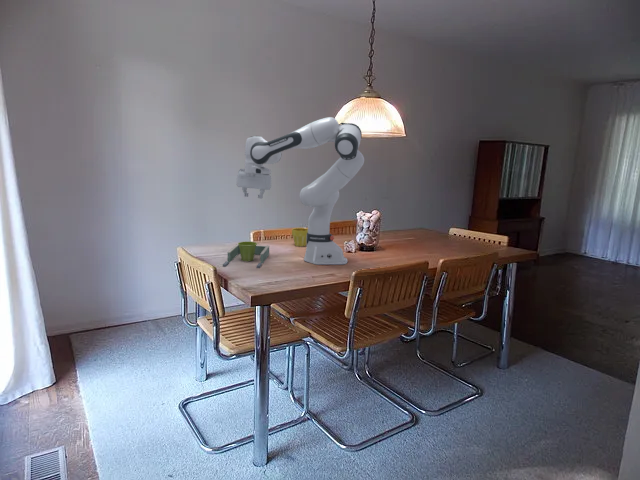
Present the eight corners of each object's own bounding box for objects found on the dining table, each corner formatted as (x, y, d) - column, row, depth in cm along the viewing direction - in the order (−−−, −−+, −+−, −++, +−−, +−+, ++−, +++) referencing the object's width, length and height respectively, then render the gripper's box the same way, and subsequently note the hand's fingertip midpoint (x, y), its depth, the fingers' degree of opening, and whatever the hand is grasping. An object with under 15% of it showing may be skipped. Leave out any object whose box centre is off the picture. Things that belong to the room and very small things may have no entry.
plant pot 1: (253, 263, 214) (253, 245, 212) (235, 261, 216) (235, 244, 214) (259, 259, 223) (259, 242, 221) (242, 257, 225) (242, 240, 223)
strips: (261, 265, 211) (261, 263, 211) (259, 268, 205) (259, 266, 205) (225, 263, 211) (225, 261, 211) (222, 266, 205) (222, 264, 205)
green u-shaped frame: (269, 254, 234) (269, 245, 233) (262, 263, 214) (263, 253, 213) (236, 253, 234) (236, 244, 233) (227, 261, 214) (227, 252, 213)
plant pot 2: (288, 246, 257) (289, 229, 255) (295, 243, 267) (295, 227, 265) (305, 247, 254) (306, 231, 252) (311, 244, 264) (311, 228, 262)
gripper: (234, 168, 219) (233, 195, 222) (265, 170, 208) (264, 199, 211) (242, 168, 224) (242, 195, 227) (273, 170, 213) (272, 199, 216)
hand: (253, 197), depth 219 cm, fingers open, 8 cm apart
